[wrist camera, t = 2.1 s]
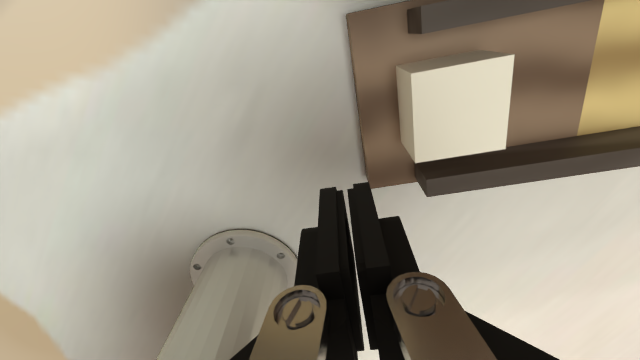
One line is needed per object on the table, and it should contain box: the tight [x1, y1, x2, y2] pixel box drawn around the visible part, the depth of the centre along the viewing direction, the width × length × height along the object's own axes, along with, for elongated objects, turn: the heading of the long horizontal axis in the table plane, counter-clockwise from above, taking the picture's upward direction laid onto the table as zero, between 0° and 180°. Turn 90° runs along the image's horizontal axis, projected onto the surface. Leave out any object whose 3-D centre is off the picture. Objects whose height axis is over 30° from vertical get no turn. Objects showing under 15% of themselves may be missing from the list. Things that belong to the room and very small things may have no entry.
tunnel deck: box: [346, 0, 640, 197], centre depth 22 cm, size 14×35×6 cm, turn 101°
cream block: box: [396, 50, 515, 163], centre depth 21 cm, size 6×6×4 cm
